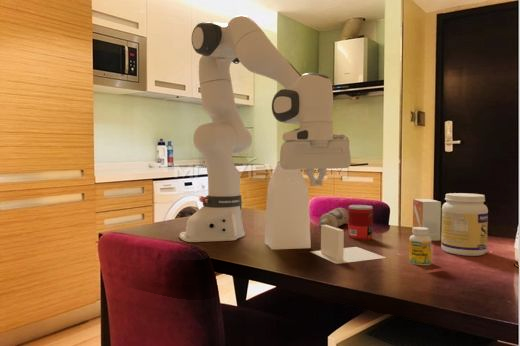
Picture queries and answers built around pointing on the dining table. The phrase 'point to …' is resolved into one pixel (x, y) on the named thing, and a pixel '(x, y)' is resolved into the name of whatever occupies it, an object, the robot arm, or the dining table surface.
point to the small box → (427, 216)
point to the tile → (332, 242)
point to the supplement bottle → (420, 246)
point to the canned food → (360, 222)
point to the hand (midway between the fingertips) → (316, 185)
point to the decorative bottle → (334, 218)
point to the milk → (287, 210)
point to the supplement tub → (464, 224)
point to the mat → (351, 255)
